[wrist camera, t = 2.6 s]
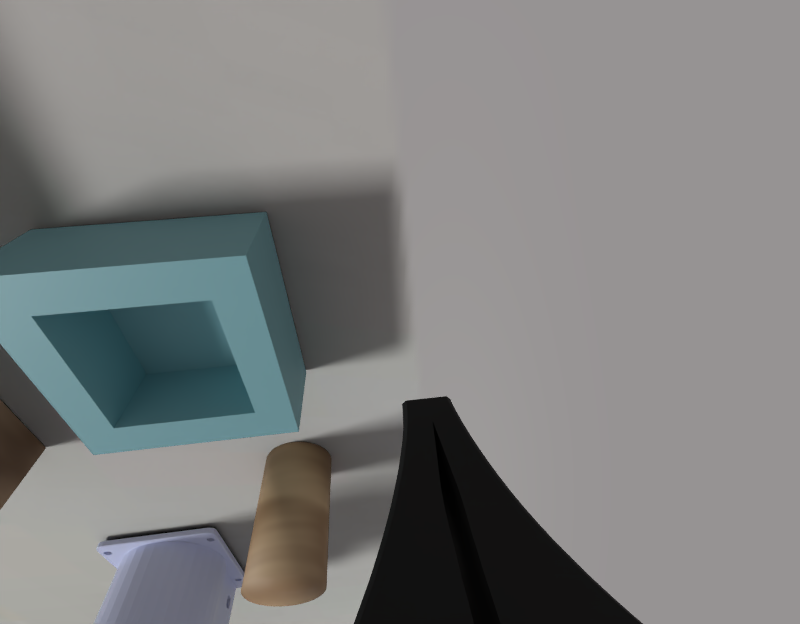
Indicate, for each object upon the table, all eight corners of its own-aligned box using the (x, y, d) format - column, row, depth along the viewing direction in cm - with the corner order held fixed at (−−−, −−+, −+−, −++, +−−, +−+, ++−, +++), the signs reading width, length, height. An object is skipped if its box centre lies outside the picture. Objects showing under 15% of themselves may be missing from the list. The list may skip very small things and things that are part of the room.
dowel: (335, 475, 26) (331, 599, 20) (274, 483, 25) (253, 611, 20) (326, 438, 23) (319, 566, 18) (259, 445, 23) (230, 579, 17)
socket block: (306, 372, 20) (298, 431, 17) (132, 390, 19) (93, 454, 16) (266, 211, 15) (245, 255, 12) (30, 229, 14) (-54, 279, 11)
